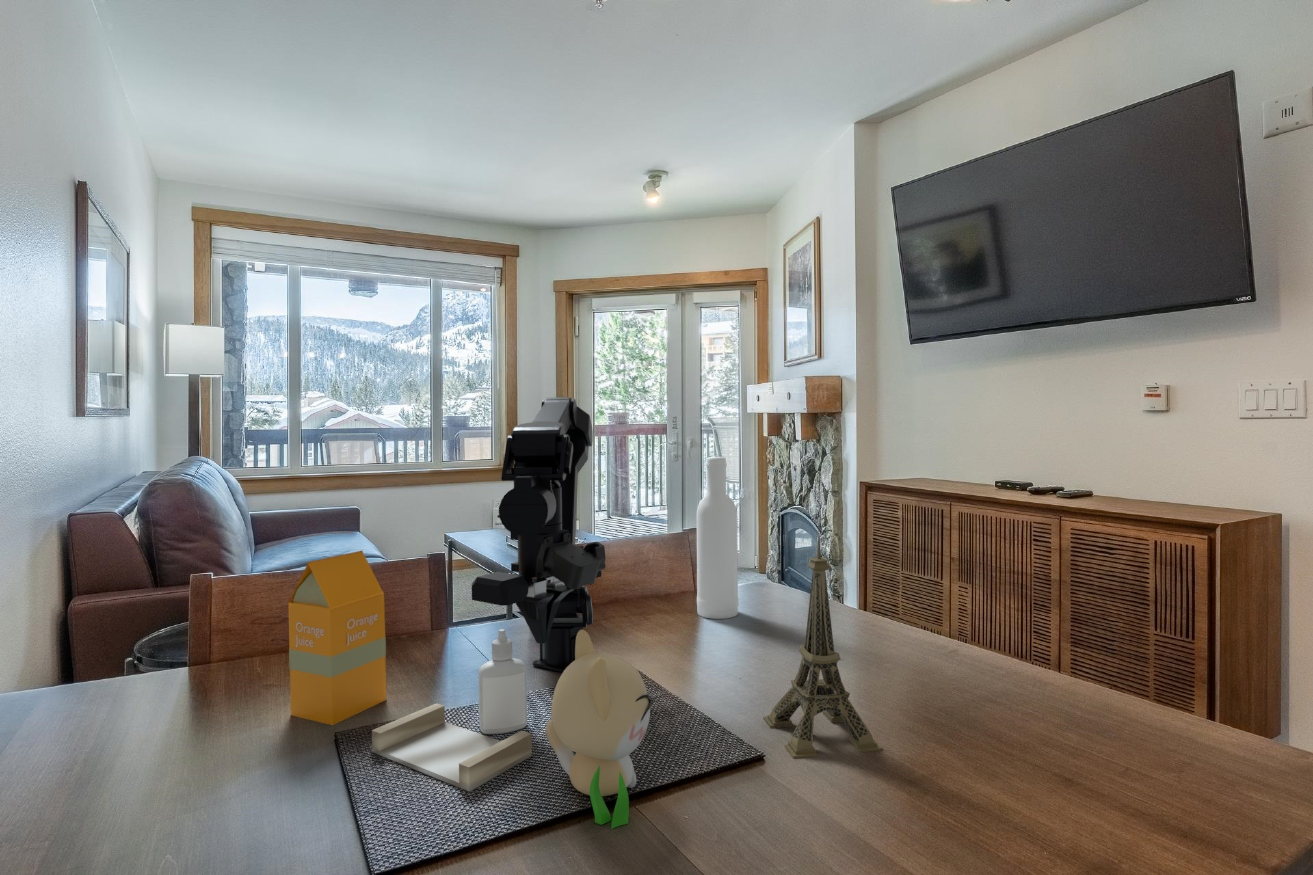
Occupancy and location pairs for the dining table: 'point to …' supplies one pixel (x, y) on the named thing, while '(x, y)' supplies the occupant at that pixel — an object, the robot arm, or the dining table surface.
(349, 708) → the orange juice
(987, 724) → the dining table surface
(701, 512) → the bottle
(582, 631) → the kitten
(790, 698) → the eiffel tower
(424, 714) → the u rest
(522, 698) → the eye dropper bottle
